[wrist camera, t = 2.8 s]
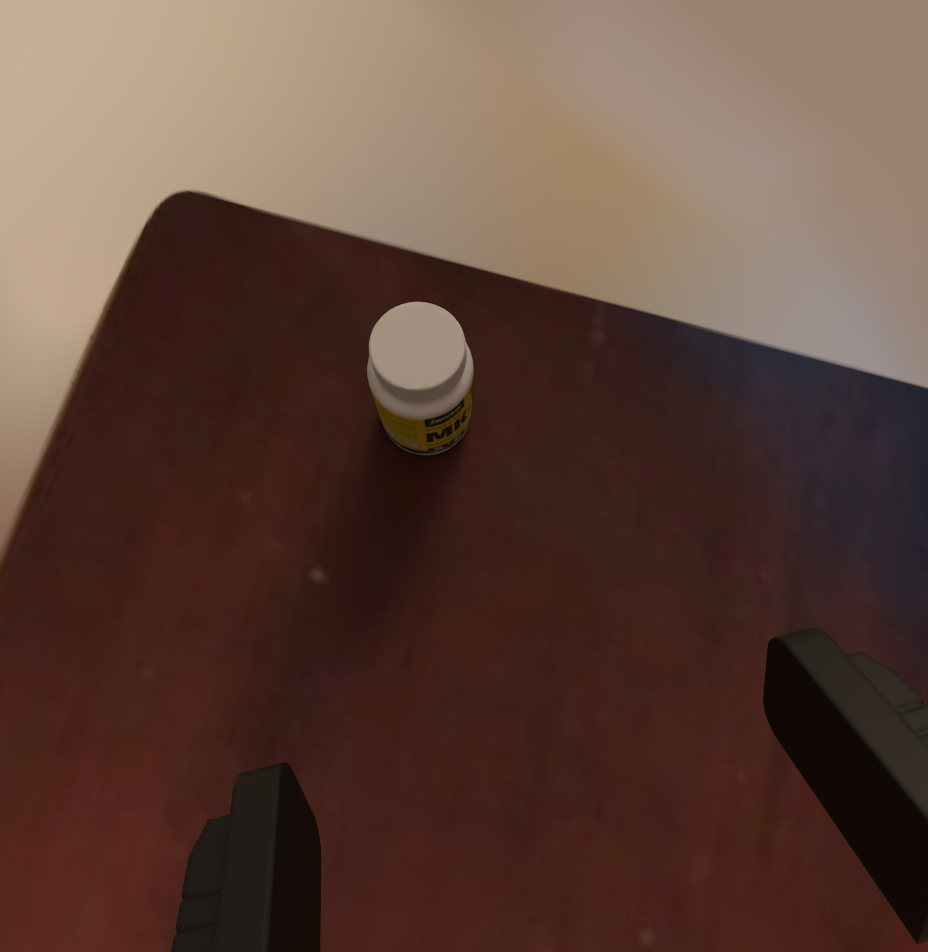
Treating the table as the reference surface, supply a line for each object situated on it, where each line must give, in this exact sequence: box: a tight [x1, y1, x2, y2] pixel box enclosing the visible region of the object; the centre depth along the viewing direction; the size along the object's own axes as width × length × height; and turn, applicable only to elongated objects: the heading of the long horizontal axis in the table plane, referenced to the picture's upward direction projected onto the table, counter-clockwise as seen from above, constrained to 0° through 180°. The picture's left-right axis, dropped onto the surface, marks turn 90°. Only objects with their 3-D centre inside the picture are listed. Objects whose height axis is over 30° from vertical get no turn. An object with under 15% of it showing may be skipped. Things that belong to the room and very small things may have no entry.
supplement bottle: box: [367, 302, 474, 455], centre depth 32 cm, size 5×5×8 cm
